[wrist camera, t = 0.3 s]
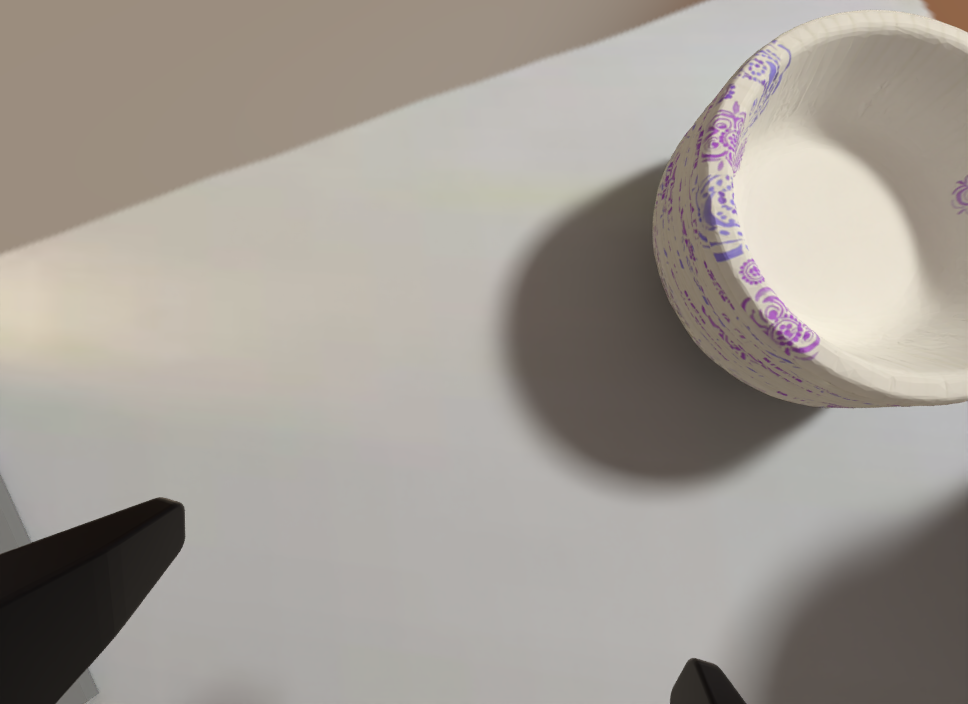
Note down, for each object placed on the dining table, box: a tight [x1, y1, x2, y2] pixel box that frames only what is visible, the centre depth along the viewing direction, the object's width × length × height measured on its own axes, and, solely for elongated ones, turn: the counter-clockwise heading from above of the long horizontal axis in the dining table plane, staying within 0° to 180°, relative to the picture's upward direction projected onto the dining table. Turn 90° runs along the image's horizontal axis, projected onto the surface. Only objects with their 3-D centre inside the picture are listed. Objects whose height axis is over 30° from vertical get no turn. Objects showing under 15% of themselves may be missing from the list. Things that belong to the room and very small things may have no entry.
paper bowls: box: [653, 10, 968, 408], centre depth 20 cm, size 15×15×8 cm
